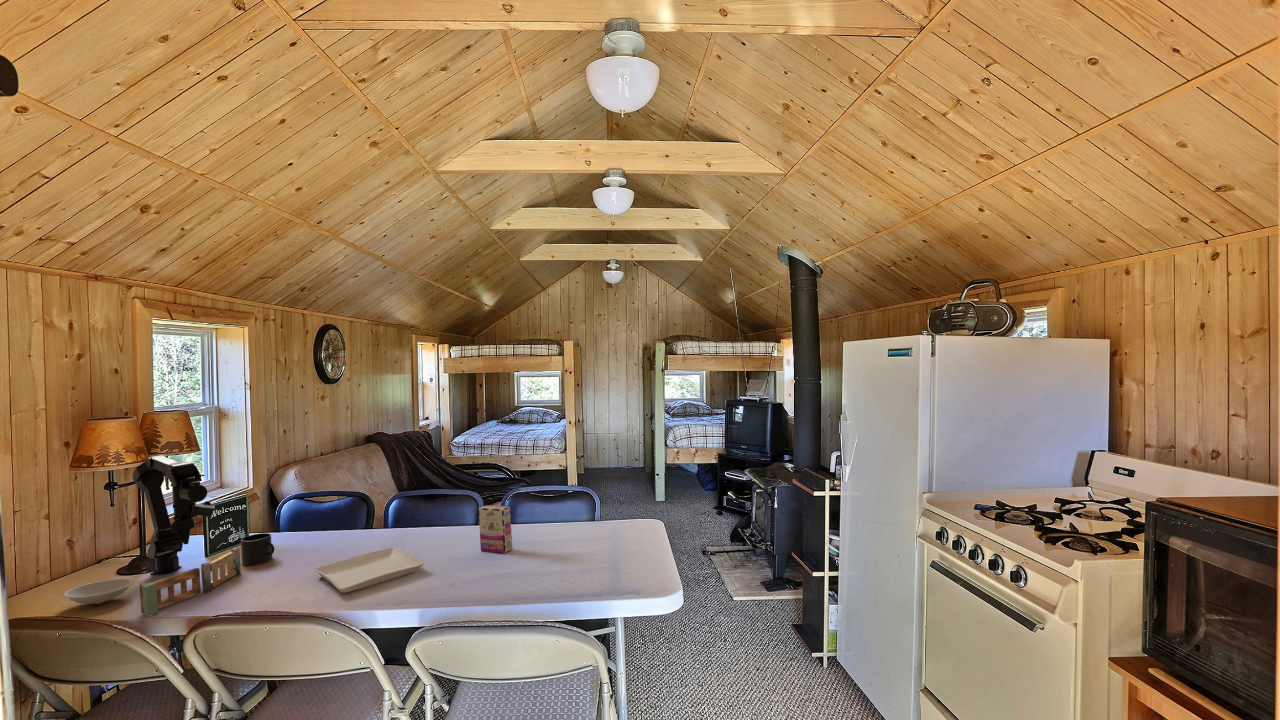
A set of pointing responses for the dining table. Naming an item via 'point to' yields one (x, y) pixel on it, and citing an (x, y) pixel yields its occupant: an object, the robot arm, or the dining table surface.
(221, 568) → the wooden fence panel
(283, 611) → the dining table surface
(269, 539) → the mug
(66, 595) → the dish
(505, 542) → the candy bar box
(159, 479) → the robot arm
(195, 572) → the gate
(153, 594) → the post
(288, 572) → the dining table surface
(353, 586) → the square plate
